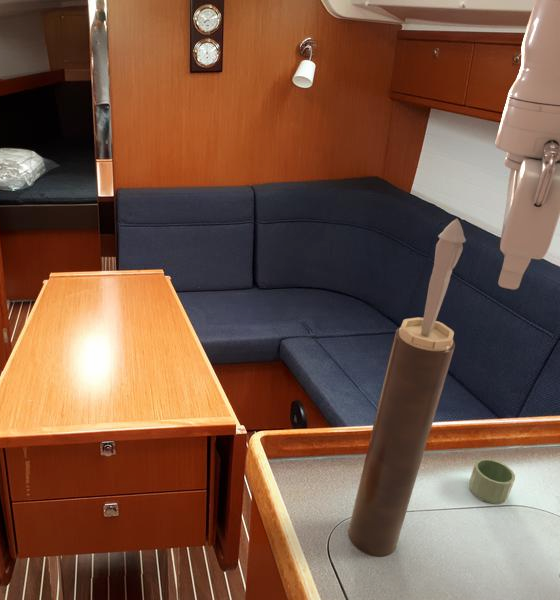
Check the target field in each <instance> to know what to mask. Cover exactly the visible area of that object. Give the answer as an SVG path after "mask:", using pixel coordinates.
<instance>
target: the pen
mask: <svg viewBox="0 0 560 600" xmlns="http://www.w3.org/2000/svg"><path fill="white" fill-rule="evenodd" d="M437 237H438V238H439V240H438V241H437V242H436V244H435V252H434V261H433V267H432V272H431V275H430V278H429V283H428V288H427V296H426V302H425V306H424V314H423V317H422V318H423V323H422V329H421V334H423V335H425V336H426V337H428V336H429V335H430V334H431V332H432V330H433V327H434V325H435V321H437V318H438V315H439V312H440V310H441V306H442V305H443V301H444V298H445V296H446V293H447V291H448V287H449V283H450V280H451V276H452V273H453V269H455V267H456V265H457V264H458V262H459V260H460V257H461V254H462V253H463V249H464V245H463V243H466V242H467V239H466V238H465V235H464V229H463V227H462V224H461V222H460V220H459V219H458V218H455V219H454V220H452V221H451V222H450V223H449V224H448V225H447V226H446V227H445V228H444V229H443V231H442V232H440V234H438V235H437Z"/></svg>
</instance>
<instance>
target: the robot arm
mask: <svg viewBox="0 0 560 600" xmlns="http://www.w3.org/2000/svg"><path fill="white" fill-rule="evenodd" d="M501 116H502V117H501V119H500V124H499V127H498V130H497V135H496V138H495V141H494V146H495V148H497V149H499V150H501V151H503V152H505V153H506V156H505V158H504V163H503V165H504V166H505V167H506V168H508V169H510V171H509V178H508V185H507V193H506V203H505V209H504V216H503V223H502V229H501V236H500V242H499V250H500V252H502V254H503V256H504V258H503V263H502V266H501V270H500V272H499V276H498V281H497V284H498V286H499V287H501V288H503V289H507V290H508V289H509V290H512V291H513V290H514V291H515V290H518V289H519V287H520V285H521V283H522V279H523V276H524V274H525V272H526V270H527V268H528V267H529V266H530V265H529V264H530V263H531V261H532V260H533V259H534V260H543V258H545V256H546V255H547V253H548V251H549V249H550V246H551V244H552V241H553V238H554V235H555V231H556V228H557V225H558V223H559V219H560V0H535V1H534V3H533V7H532V10H531V12H530V16H529V19H528V22H527V25H526V29H525V32H524V36H523V40H522V44H521V64H520V68H519V72H518V74H517V77H516V79H515V81H514V82H513V84H512V85H511V87H510V89H509V91H508V94H507V98H506V102H505V105H504V109H503V112H502V115H501Z"/></svg>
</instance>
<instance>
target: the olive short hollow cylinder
mask: <svg viewBox="0 0 560 600" xmlns="http://www.w3.org/2000/svg"><path fill="white" fill-rule="evenodd" d="M515 481H516V474H515V473H514V471H513V470H512V469H511V468H510V467H509V466H508V465H506V464H505V463H503V462H501V461H500V460H496V459H493V458H480V459H478V460H477V461H476V462H475V463H474V466H473V467H472V471H471V474H470V477H469V480H468V484H467V486H468V489H469V491H470V492H471V494H473V495H474V497H476V498H478V499H479V500H481V501H483V502H486V503H489V504H494V505H500V504H503V503H506V501H507V500H508V498H509V496H510V493H511V490H512V489H513V486H514V483H515Z"/></svg>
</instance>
